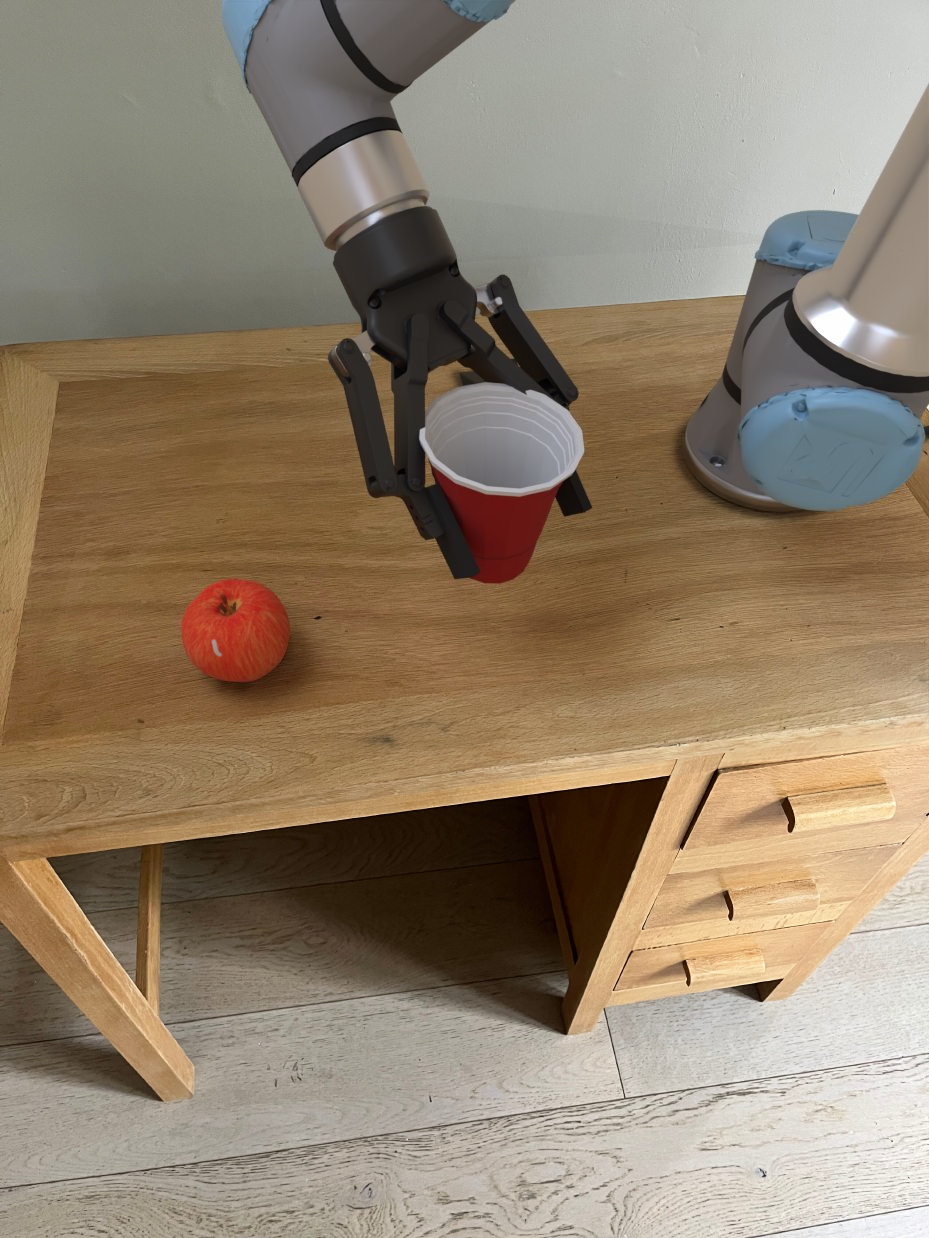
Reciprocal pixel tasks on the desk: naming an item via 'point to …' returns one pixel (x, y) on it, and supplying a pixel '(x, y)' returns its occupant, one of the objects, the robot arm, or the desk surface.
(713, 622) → the desk surface
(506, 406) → the plastic cup
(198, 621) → the apple
